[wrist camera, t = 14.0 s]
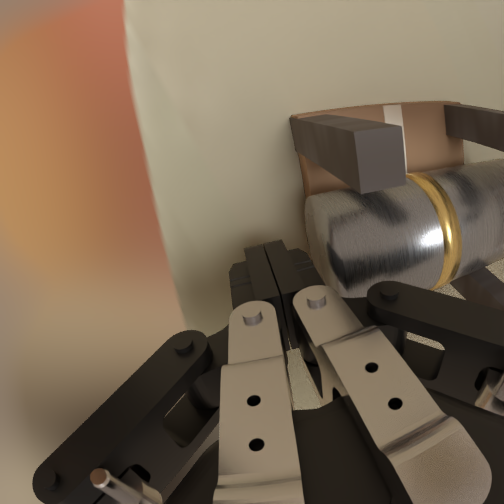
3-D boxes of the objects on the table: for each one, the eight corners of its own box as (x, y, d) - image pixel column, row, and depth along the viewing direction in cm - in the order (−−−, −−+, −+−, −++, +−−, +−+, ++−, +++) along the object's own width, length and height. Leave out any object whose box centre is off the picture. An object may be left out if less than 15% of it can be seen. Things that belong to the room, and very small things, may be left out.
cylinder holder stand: (289, 115, 13) (353, 127, 7) (447, 101, 13) (549, 120, 7) (318, 300, 18) (361, 397, 11) (446, 261, 18) (514, 326, 11)
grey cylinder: (476, 148, 13) (544, 172, 9) (473, 230, 16) (529, 268, 11) (297, 181, 13) (342, 221, 9) (313, 279, 15) (350, 348, 11)
